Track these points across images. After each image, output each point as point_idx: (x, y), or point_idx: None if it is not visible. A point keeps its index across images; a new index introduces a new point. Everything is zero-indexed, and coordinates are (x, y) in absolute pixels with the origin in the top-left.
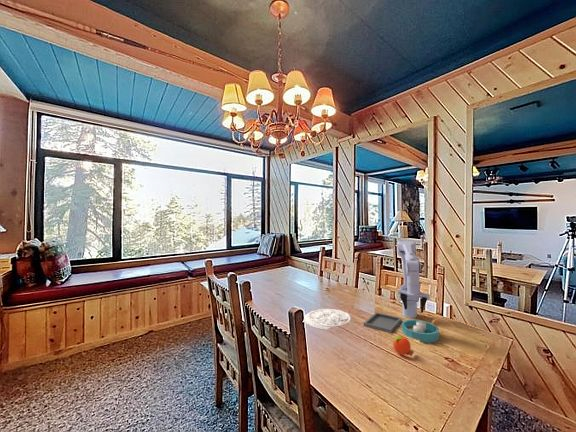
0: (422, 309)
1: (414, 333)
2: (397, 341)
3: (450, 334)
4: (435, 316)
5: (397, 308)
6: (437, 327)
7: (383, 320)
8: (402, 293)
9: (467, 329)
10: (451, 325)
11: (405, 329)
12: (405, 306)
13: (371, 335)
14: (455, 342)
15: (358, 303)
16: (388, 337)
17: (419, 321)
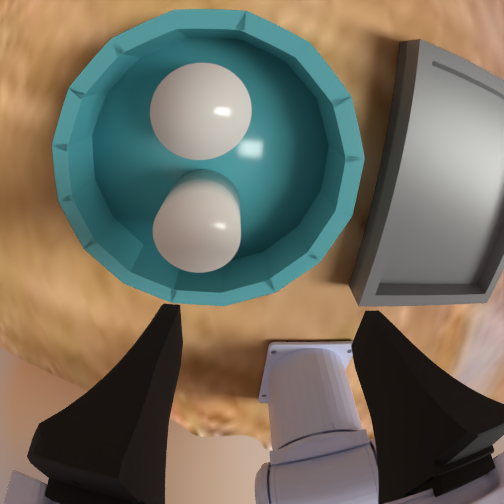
0: (145, 331)
1: (222, 12)
2: None
3: (60, 267)
4: (190, 415)
5: (359, 412)
6: (77, 236)
7: (457, 239)
8: (468, 487)
9: (44, 350)
10: (101, 364)
11: (315, 52)
12: (386, 332)
13: (486, 11)
14: (14, 177)
15: (500, 363)
16: (405, 3)
17: (214, 258)
